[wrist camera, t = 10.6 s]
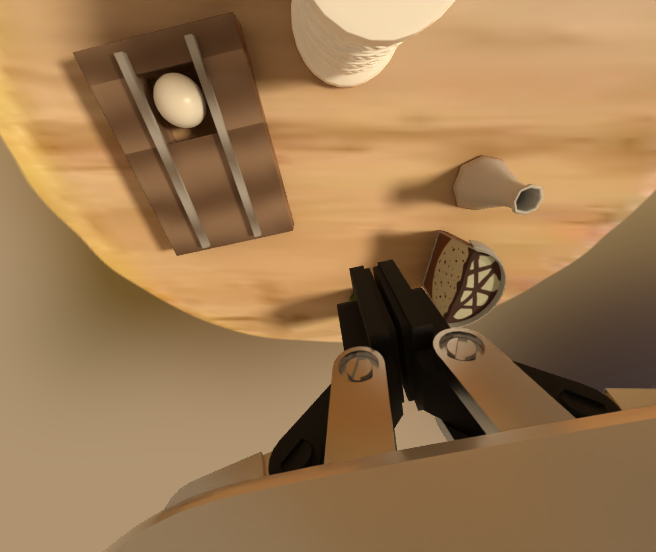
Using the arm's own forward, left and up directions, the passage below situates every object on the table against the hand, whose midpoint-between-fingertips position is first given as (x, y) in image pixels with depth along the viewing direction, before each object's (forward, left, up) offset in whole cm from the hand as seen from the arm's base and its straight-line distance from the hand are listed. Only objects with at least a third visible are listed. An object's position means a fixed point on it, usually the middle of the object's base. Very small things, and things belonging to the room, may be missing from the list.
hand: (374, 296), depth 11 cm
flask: (+5, +20, -29) cm, 36 cm away
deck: (-6, -14, -29) cm, 33 cm away
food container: (+16, +16, -29) cm, 37 cm away
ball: (-11, -14, -27) cm, 32 cm away
